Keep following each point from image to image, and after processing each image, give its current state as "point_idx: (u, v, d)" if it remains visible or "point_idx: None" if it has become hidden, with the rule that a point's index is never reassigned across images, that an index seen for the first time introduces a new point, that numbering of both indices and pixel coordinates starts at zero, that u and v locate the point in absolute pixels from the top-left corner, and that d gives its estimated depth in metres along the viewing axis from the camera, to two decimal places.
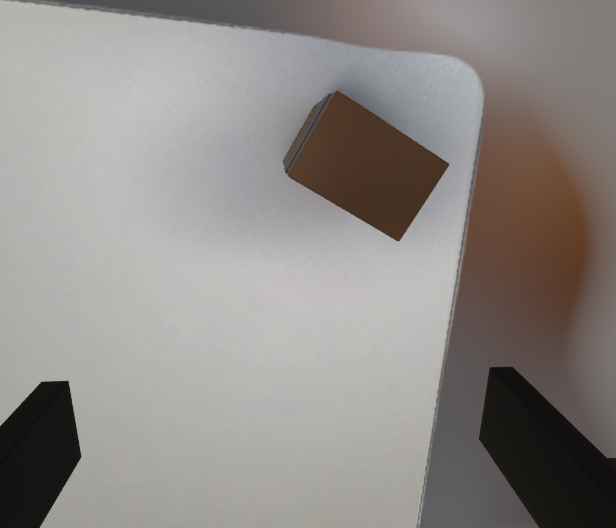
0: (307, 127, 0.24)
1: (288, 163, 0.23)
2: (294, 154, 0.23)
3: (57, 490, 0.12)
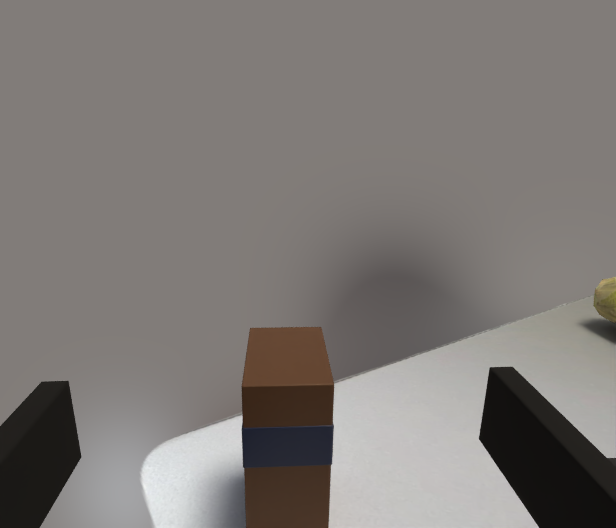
0: (280, 463, 0.22)
1: (324, 445, 0.21)
2: (312, 435, 0.21)
3: (57, 490, 0.12)
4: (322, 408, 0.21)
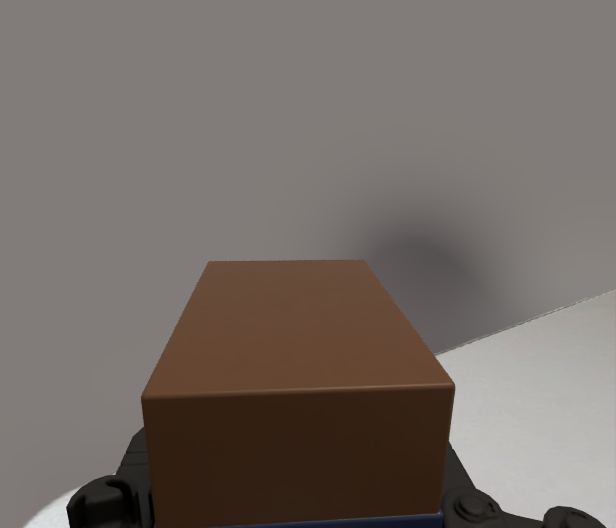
0: None
1: None
2: None
3: None
4: (412, 463, 0.06)
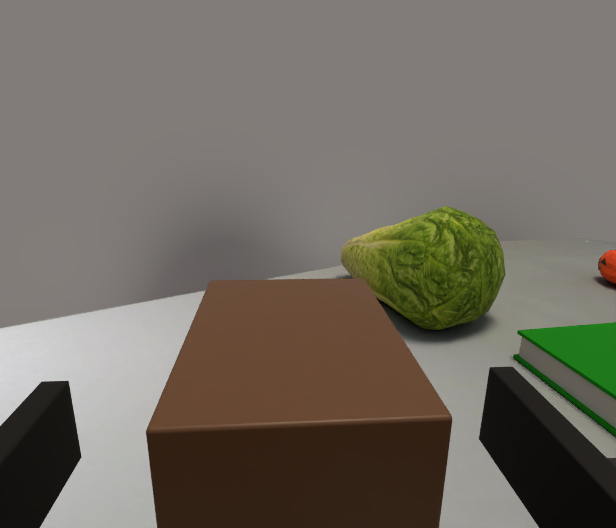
0: None
1: None
2: None
3: (57, 490, 0.12)
4: (411, 492, 0.07)
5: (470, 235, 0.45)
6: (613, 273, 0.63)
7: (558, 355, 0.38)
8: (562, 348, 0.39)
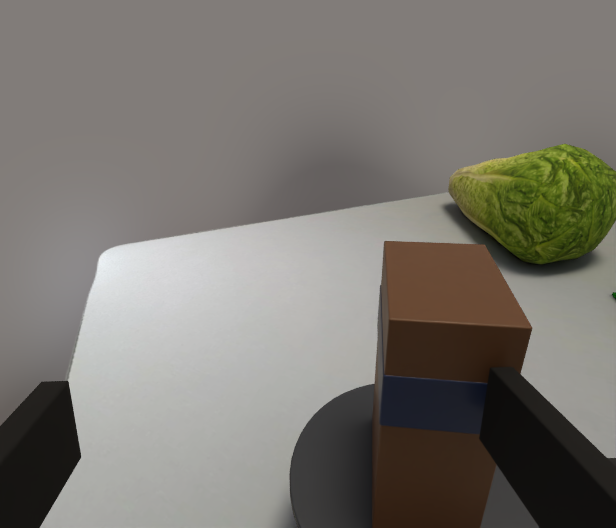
0: (431, 426, 0.15)
1: None
2: (485, 396, 0.15)
3: (57, 490, 0.12)
4: (506, 360, 0.14)
5: (586, 176, 0.46)
6: None
7: None
8: None
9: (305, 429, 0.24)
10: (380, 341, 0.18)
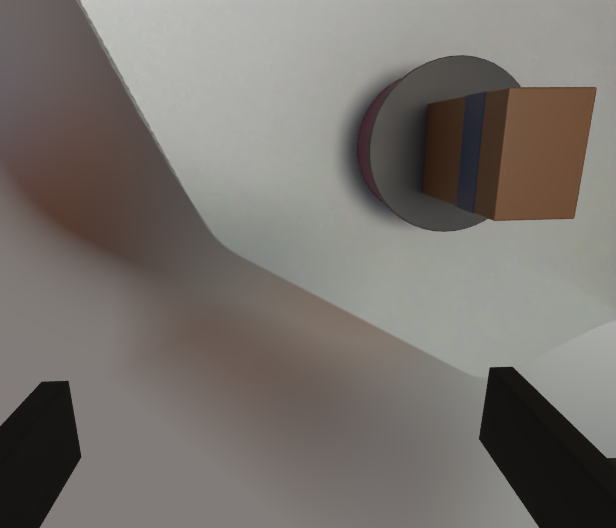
0: None
1: None
2: None
3: (57, 490, 0.12)
4: None
5: None
6: None
7: None
8: None
9: (377, 119, 0.31)
10: (472, 161, 0.24)
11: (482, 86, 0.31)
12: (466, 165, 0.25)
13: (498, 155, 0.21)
